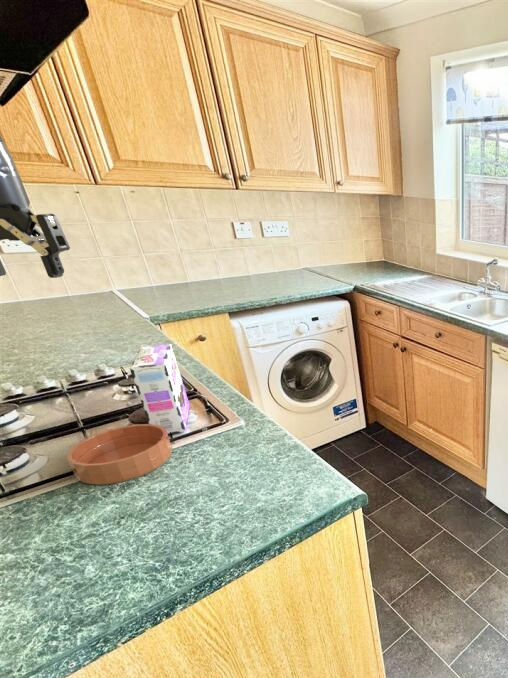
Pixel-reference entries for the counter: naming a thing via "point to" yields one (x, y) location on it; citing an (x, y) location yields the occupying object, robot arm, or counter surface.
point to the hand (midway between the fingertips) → (27, 276)
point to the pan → (120, 454)
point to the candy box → (161, 388)
